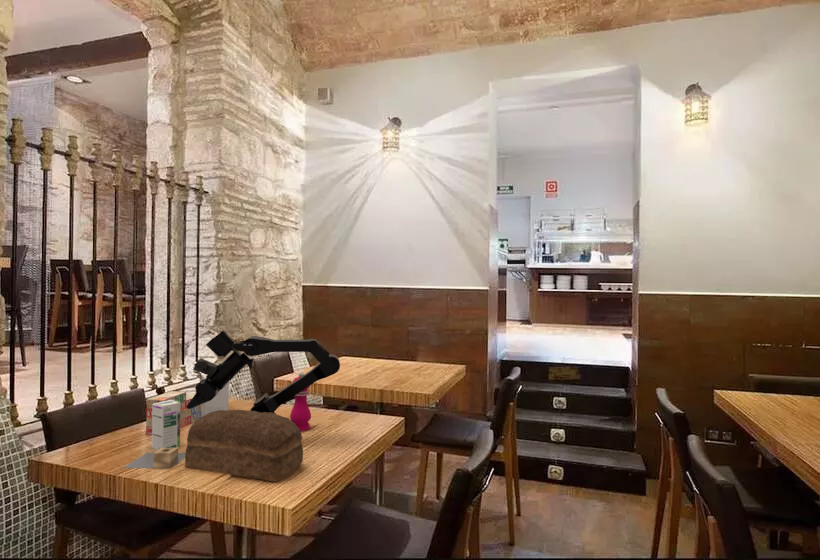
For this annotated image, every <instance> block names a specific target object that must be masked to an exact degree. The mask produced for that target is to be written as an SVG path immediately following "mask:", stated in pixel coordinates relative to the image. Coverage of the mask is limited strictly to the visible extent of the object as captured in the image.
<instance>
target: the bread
mask: <svg viewBox="0 0 820 560" xmlns="http://www.w3.org/2000/svg"><path fill="white" fill-rule="evenodd" d="M275 413H276V412H275ZM275 413H271V412H264V413H260V412H257V411H250V410H247V409H228V410H218V411H213V412H210V413H208V414H206V415H204V416H203V415H201V417H200V418H198V419H197V420H196V421H195V422H193V423H192V425H190V428H189V429H188V433H187V436H186V437H187V438H186V441H187V445H186V449H185V453H186V454H185V458H184V459H185V461H184V465H185V467H186V468H189V469H196V470H197V469H198V470H202V471H208V472H215V473H221V474H228V475H230V476H233V477H239V478H240V477H241V478H249V479H255V480H256V479H257V480H264V481H269V482H279V481H281V480H282V479H284V478H286V477H288V476H289V475H291V474H292V473H294V472H295V471H297V470H298V469H299V467H300V466H301V464H302V463H303V459H304V448H303V445H302V440H303V436H302V431H300V429H299V428H298V427H297V425H296V424H295V423H293V422H292V421H291V419H290V417H286V416H282V415H279V414H277V413H276V414H275Z"/></svg>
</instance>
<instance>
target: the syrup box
mask: <svg viewBox="0 0 820 560" xmlns="http://www.w3.org/2000/svg"><path fill="white" fill-rule="evenodd" d="M151 439H152V441H151V443H152V445H151V448H152V449H155V450H156V451H158V450H159V449H161V448H180V446H181V428H180V402H178V401H175V400H168V401H163V402H158V403H153V404H152V435H151Z"/></svg>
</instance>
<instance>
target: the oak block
mask: <svg viewBox="0 0 820 560" xmlns="http://www.w3.org/2000/svg"><path fill="white" fill-rule="evenodd" d="M152 453H153V468H152V469H158V468H171V467H172V466H173V467H175V466H176V465H177V464H179V463H178V453H179V447H176V448H161V449H159V450H156V451H155V452H152ZM176 463H177V464H176ZM175 464H176V465H175ZM174 465H175V466H174ZM173 467H172V468H173ZM172 468H171V469H172Z"/></svg>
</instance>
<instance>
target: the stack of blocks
mask: <svg viewBox="0 0 820 560" xmlns="http://www.w3.org/2000/svg"><path fill="white" fill-rule="evenodd" d="M195 394H196V393H195ZM195 394H194V393H193V394H192V393H187V391H175V390H173V391H172V390H171V391H168V392H165V393H162V394H159V395H156V396H153V397H150V398H147V399H146V412H145V416H146V424H145V425H146V428H145V431H146V432H145V436H152V404H153V403H158V402H163V401H168V400H175V401H178V402H180V429H181V428H183V427H186V426H188V425H191V424H193V423H194V422H195V421H196V420H197V419H198V418H200V417H202V404H200V405H198V406H196V407H193V408H191V409H188V408H187V405H188V404H189V402H190V401H191V400H192V398H193V397H194V395H195Z"/></svg>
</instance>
